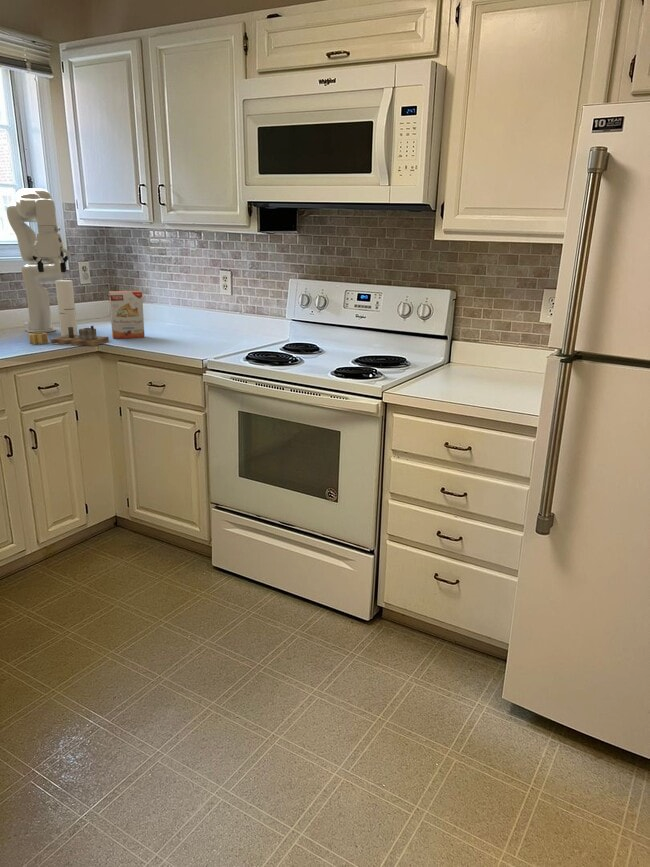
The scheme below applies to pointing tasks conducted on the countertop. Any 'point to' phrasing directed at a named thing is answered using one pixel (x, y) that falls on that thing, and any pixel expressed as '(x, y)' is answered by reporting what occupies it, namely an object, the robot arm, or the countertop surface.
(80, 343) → the gear board
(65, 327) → the cylindrical container
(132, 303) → the cracker box
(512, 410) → the countertop surface
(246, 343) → the countertop surface
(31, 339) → the brass gear
